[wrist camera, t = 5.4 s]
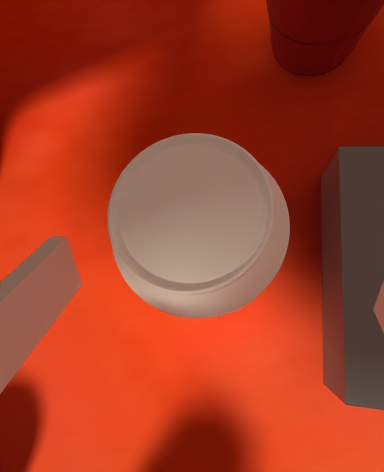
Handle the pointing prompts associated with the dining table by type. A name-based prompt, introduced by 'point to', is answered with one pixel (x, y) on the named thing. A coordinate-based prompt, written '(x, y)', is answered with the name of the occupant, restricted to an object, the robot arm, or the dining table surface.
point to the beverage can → (197, 226)
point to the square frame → (353, 274)
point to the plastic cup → (317, 31)
